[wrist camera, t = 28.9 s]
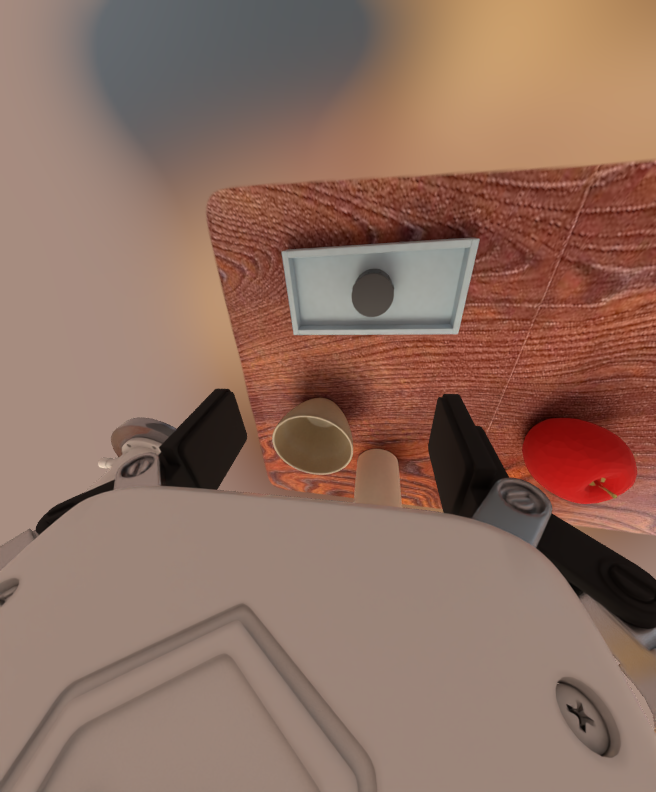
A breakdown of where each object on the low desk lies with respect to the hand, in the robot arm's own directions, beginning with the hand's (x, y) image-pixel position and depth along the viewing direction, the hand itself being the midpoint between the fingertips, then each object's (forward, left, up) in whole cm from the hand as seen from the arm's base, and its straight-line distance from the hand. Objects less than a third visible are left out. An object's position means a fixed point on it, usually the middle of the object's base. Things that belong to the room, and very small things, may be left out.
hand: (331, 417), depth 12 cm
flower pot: (-5, -15, -20) cm, 25 cm away
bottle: (+3, -25, -19) cm, 31 cm away
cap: (+2, +2, -16) cm, 17 cm away
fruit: (+25, -16, -19) cm, 35 cm away
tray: (+2, +2, -19) cm, 19 cm away
